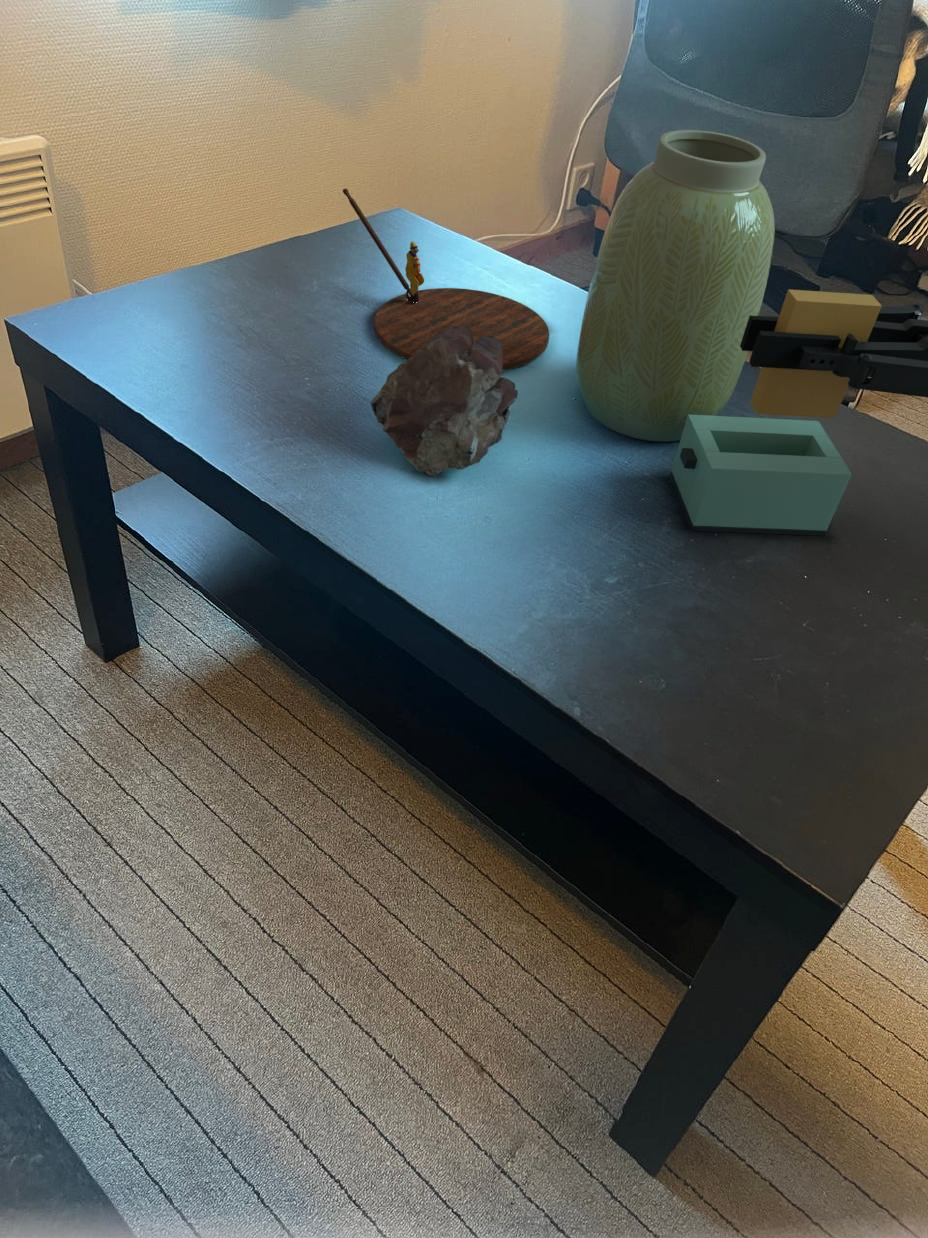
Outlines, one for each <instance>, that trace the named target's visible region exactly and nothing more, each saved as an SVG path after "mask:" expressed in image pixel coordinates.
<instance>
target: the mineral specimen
mask: <svg viewBox="0 0 928 1238" xmlns="http://www.w3.org/2000/svg"><path fill="white" fill-rule="evenodd" d="M502 369H503V348H502V343H501V341H500V340H499V339H494V338H489V337H484V336H482V337H481V338H479V339H478V340H477V341H476V342H475V343H473V332H472V331H471V330H470V329H469V328H468V327H463V326H456V325H454V326H453V327H452V328H451V329H448V330H446V329H442V330H440V331H439V332H438V333H437V334H436V335H435V336H434V337H432V338H431V339H430V340H428V341H427V342H425V343H424V344H423V345H422V346H421V347H420V348H418V350H417V351H416V352H415V355H414V356H412V357H410V358H409V359H408V360H407V361H406V362H402V363H400V364H399V365H397V367H396V368H395V369H394V370H393V371H391V372H390V373H389V374H388V375H387V376H386V377H387V378H386V381H385V382H384V384H383V385H382V386H381V388H380V389H379V391H378V392H377V393H376V395H375V396H374V397H373V398H372V399H371V400H370V402H369V404H370V406H371V410H372V412H373V415H374V416H375V418H376V421H377V423H378V424H380V425H381V426H382V431H384V433H385V434H387V435H388V436H389V437H390V438H391V439H392V441H393V442H394V444H395V446H396V448H397V449H398V450H399V451H400V452H402V453H403V457H404V458H405V460H406V461H408V462H409V463H410V464H411V465H413V467H414V468H415V471H417V472H419V473H426V474H427V475H428V476H430V477H436V476H438V474H439V473H443V472H444V471H446V470H450V469H457V470H464V469H466V468H469V467H470V466H473V465H475V464H478V463H480V462H481V460H482V459H483V458H484V457H485V456H486V455H487V454H488V452H489V448H490V447H493V446H494V445H497V444H498V443H499V442H500V441H501V440H502V437H503V436H502V435H503V433H504V430H505V427H506V425H507V423H508V420H509V416H510V414H511V410H510V409H509V408H510V407H511V406H513V404H514V403H515V402H516V400H517V399H518V397H519V391H518V389H516V383H515V382H514V381H513V380H511V379H510V378H508V377H503V376H502V373H503V370H502Z"/></svg>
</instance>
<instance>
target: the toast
mask: <svg viewBox="0 0 928 1238" xmlns="http://www.w3.org/2000/svg"><path fill="white" fill-rule="evenodd" d="M881 307H883V306H882V304H881V303H880V302H879V300H878V299H876V298H875V295H873V294H863V293H848V292H835V291H820V290H819V291H818V290H817V291H815V290H803V289H787V292H786V294H785V297H784V300H783V303H782V305H781V310H780V312H779V315H778V317H779V318H778V321H777V324H776V327H775V330H774V332H785V333H800V334H817V335H833V336H839V338H840V339H841V342H840V344H839V347H838V348H842V346H843V344H844V341H845V339H846V336H847V334H849V333H852V335H854V336H855V337H856V338H857V339H856V340H858V342H867V340H868V338H869V336H870V333H871V331H872V328H873V326H874V324H875V321H876V319H877V316H878V314H879V312H880V309H881ZM849 379H850V378H848V377H839V376H837V375H835V374H834V373H833V372H832V371H820V370H802V369H785V368H767V367H760V371H759V373H758V377H757V380H756V383H755V386H754V387H753V388H754V389H753V392H752V395H751V398H750V400H749V403H750V404H751V406H752V409H753V411H754V412H755V414H757V415H771V416H788V417H789V416H790V417H809V418H811V417H812V418H829V419H830V418H831V419H833V418H834V419H835V418H836V417H837V415H838V412H839V410H840V408H841V406H842V402H843V401H844V398H845V395H846V394H847V391H848V388H849V387H850V386H849V385H848V382H849Z"/></svg>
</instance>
